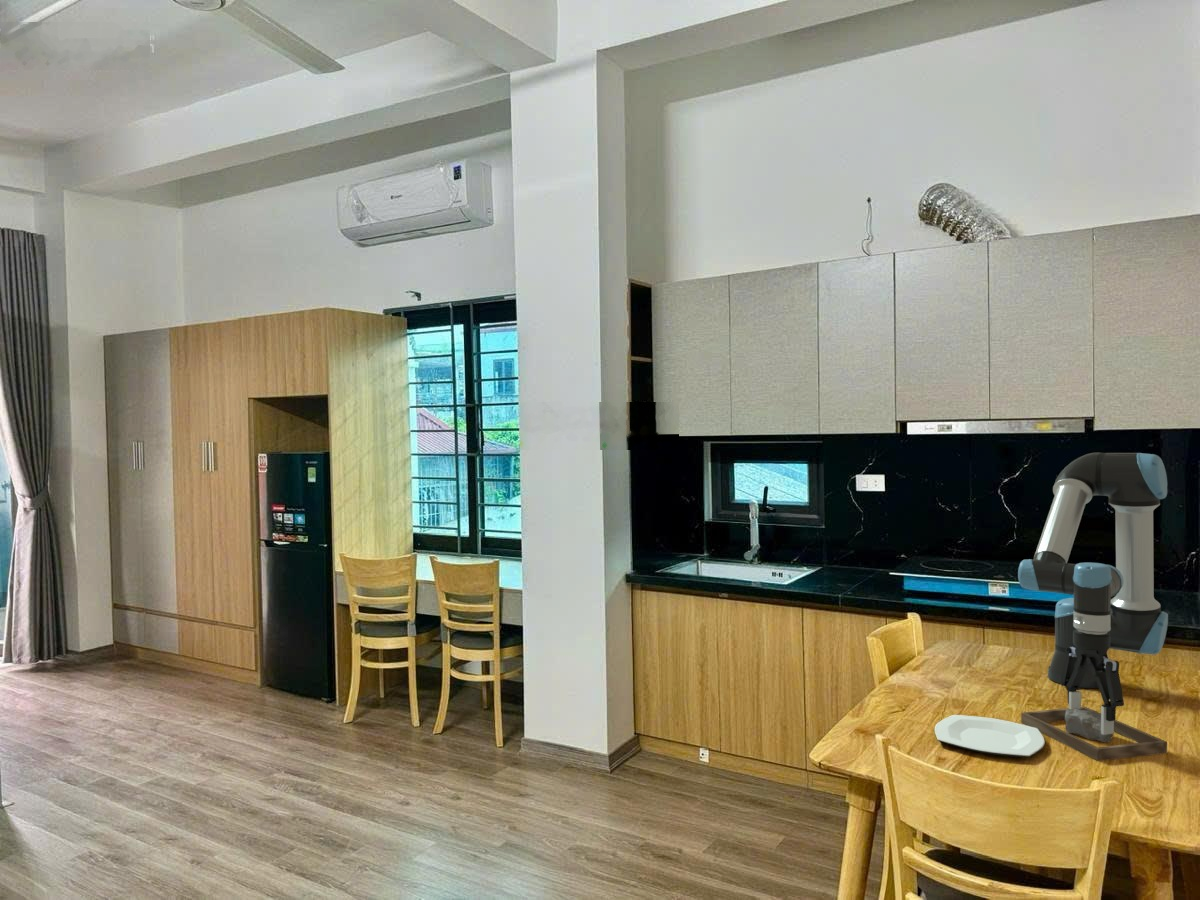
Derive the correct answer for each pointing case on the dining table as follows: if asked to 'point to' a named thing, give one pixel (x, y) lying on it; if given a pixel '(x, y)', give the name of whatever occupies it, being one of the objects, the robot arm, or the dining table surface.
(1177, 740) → the dining table surface
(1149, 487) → the robot arm
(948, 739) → the plate
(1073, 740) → the empty rectangular frame
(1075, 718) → the stone
